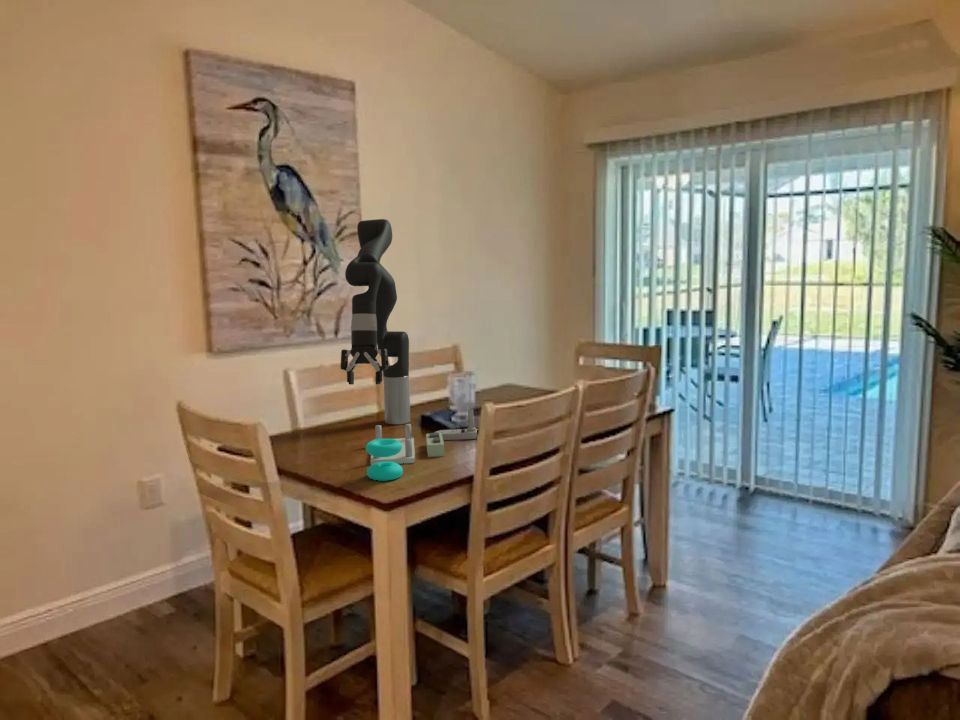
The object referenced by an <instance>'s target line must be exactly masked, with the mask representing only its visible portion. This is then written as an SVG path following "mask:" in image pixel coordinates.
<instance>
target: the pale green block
mask: <svg viewBox="0 0 960 720" xmlns="http://www.w3.org/2000/svg"><path fill="white" fill-rule="evenodd" d="M425 440H426V441H425V443H426V452H427V458H431V457H432V458H434V457H435V458H436V457H437V458H438V457H445V443H444V440H443V437H442V433H435V432H428V433H426V434H425Z"/></svg>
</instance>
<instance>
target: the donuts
mask: <svg viewBox="0 0 960 720" xmlns="http://www.w3.org/2000/svg"><path fill="white" fill-rule="evenodd" d="M395 439H396V438H382V439H377V440H375V439H373V440H370V441H369V442H368V443H366V446H365V451H366V453H367V454H369V455H370V456H371V455H372V456H375V457H390V456H394V455H396V454H398V453H399V452H400V451H401V449H402V444H401V442H400V441H398V440H395ZM403 469H404V468H403V467H402V465H400V464H397V463H395V462H378V463H375V464H373V465H371V464H370V466H368V468H367V470H366V474H367V477H368V479H370V480H372V479H373V481H376V480H378V482H388V480H389V481H393V480H397V479H398V478H400V477H401V476H402V475H403V473H404V470H403Z"/></svg>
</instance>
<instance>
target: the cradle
mask: <svg viewBox="0 0 960 720" xmlns="http://www.w3.org/2000/svg"><path fill="white" fill-rule="evenodd" d="M374 426H375V427H374V430H375V431H374V432H375V433H374V434H375V439H374V440H377V439H383V434H382V433H383V432H382V431H383V430H382V425H380V424H377V425H374ZM404 435H405V436H404V437H402V438H401V437H400V438H394V439H395V440H398V441H400V442H401V444H402V449H401V451H400V452H399V453H398V454H396V455H394V456H390V457H375V456H372V455H370V466H371V465H373V464H375V463H378V462H395V463H397V464H399V465H400V464H403V463H404V464H415V463H416V454H415V452H416V451H415V438H414V437H412V424H411V423H405V424H404Z"/></svg>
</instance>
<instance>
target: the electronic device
mask: <svg viewBox="0 0 960 720" xmlns="http://www.w3.org/2000/svg"><path fill="white" fill-rule="evenodd" d="M467 416H468V417H467V418H468V419H467V424H468V425H467V426H468V427H467V428H463V429H462V428H461V429H460V428H459V429H458V428H457V429H455V428H454V429H440V430H437V431H434V433H442V437H443V441H456V440H458V441H459V440H461V441H462V440H474V439H475V440H477V438H476V436H477V430H478V428H477V427H475V418H474V417H475V416H474V409H473V408H469V409H467Z"/></svg>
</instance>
